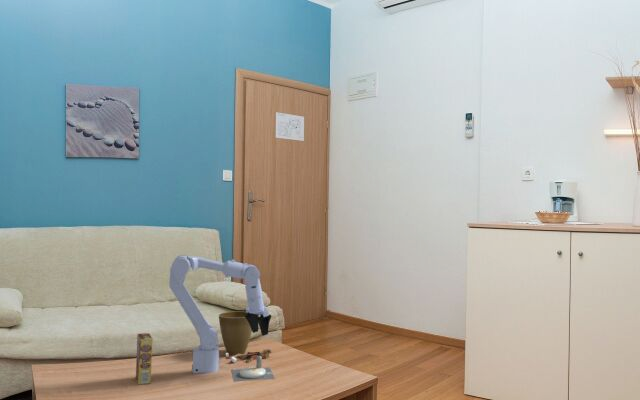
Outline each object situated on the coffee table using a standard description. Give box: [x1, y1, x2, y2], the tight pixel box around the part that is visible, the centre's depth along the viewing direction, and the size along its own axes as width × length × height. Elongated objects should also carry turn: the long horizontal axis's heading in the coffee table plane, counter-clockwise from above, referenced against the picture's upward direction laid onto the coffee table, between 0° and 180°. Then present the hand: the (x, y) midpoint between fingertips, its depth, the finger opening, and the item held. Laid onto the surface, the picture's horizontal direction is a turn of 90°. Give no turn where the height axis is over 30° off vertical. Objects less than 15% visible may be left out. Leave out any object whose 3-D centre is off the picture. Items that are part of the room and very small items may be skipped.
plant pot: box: [218, 310, 253, 356], centre depth 209 cm, size 15×15×16 cm
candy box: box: [135, 332, 154, 385], centre depth 174 cm, size 9×4×15 cm, turn 26°
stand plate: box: [231, 367, 276, 383], centre depth 178 cm, size 14×13×1 cm
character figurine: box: [225, 348, 272, 364], centre depth 198 cm, size 10×18×4 cm, turn 115°
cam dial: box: [240, 356, 266, 378], centre depth 178 cm, size 9×9×5 cm
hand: (260, 333), depth 187 cm, fingers open, 7 cm apart
